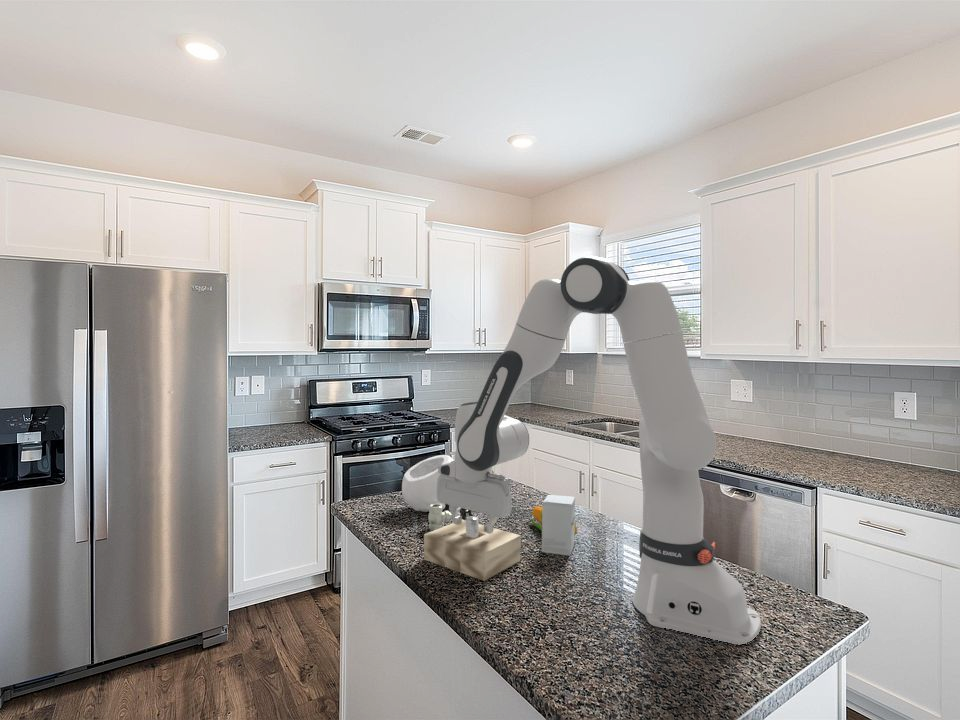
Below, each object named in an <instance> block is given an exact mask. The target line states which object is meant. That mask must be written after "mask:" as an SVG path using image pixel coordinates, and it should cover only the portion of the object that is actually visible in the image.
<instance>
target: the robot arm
mask: <svg viewBox="0 0 960 720" xmlns="http://www.w3.org/2000/svg"><path fill="white" fill-rule="evenodd" d="M581 313H587V314H592V315H601V314H604V315H605V314H606V315H612V316H613V317H614V318H615V319H616V321H617V324H618V326H619V328H620V329H619V330H620V333H621V337H622V343H623V348H624V352H625V356H626V361H627V366H628V370H629V375H630V379H631V384H632V386H633V390H634V391H635V394H636V397H637V401H638V404H639V407H640V411H641V414H642V416H641V418H640V420H639V424H638V436H639V438H638V443H639V458H640V472H641V482H642V483H641V484H642V526H641V527H642V529H640V531H639V540H638V541H639V543H638V544H639V545H638V551H639V558H640V565H639V571H638V578H637V583H636V587H635V590H634V593H633V597H632V603H633V605H634V607H635V608H636V610H638V611H639V612H640V613H641V614H642V615H644V617H645V619H646V620H647V621H646V622H648V623H649V624H650V625H651V626H653V627H656V628H661V629H664V628H666V630H669V629H673V630H678V631H681V632H686V633H690V634H694V635H697V636H696V637H698V636H701V637H700V638H702V637H706V638H710V639H713V640H712V641H715V640H718V641H717V642H719V641H724V642H728V643H732V644H738V645H740V644H744V643H747V642H750V641H752V640H753V639H754V638H755V637H756V636H757V635H758V636H759V634H760V633H761V632H760V631H761V630H760V629H762V624H761V617H760V615H759V614H758V612H757V611H756V610H754V609H752V608H749V607H748V603H747V602H748V601H747V597H746V596H747V595H746V593H745V589H744V588H743V586H742V584H741V583H740V582H739V581H738V580H737V579H736V578H734V577H733V576H732V575H731V574H730V573H729V572H728V571H727V570H726V569H724V568H723V567H722V566H721V565H720V564H719V563H718V562H717V561H716V560H714V558H715V550H716V542H715V541H713V542H712V543H710V542H709V541H708V540H707V539H706V538H705V537H704V506H705V505H704V504H705V503H704V500H705V499H704V494H703V491H702V486H701V481H700V474H699V471H700V470H701V469H703V468H705V467H706V466H708V465H709V464H710V463H711V462H712V460H713V459H714V457H715V455H716V452H717V448H718V446H717V444H718V443H717V436H716V434H715V433H714V430H713V428H712V426H711V423H710V420H709V417H708V415H707V411H706V408H705V405H704V402H703V399H702V397H701V395H700V392H699V389H698V387H697V384H696V381H695V378H694V376H693V372H692V369H691V365H690V361H689V360H690V359H689V357H688V352H687V348H686V347H687V346H686V343H685V340H684V339H685V338H684V334H683V331H682V325H681V321H680V319H679V318H680V317H679V315H678V312H677V308H676V306H675V303H674V300H673V299H672V296H671V294H670V292H669V290H668V288H667V286H666V285H665V284H663V283H662V282H660V281H659V280H658V281H657V280H652V279H645V280H639V281H631V280H630V277H629V275H628V274H627V272H626V271H625V270H624V268H622V267H621V266H619V265H618V264H616V263H615V262H614V261H612V260H611V259H608V258H604V257H598V256H594V255H587V256H583V257H579V258H577V259H575V260H573V261H572V262H570V264H569V265H568V266H567V267H566V268H565V269H564V271H563V273H562V275H561V278H560V280H559V279H555V278H544V279H541V280H538V281H537V282H535V283H534V284H533V286H532V287H531V289H530V291H529V293H528V294H527V296H526V298H525V301H524V302H523V305H522V307H521V309H520V312H519V313H518V317H517V320H516V323H515V325H514V329H513V332H512V334H511V336H510V338H509V340H508V342H507V344H506V347H505V348H504V349H503V351H502V353H501V354H500V356H498V359H497V360H496V361H495V363H494V365H493V368H492V369H491V371H490V373H489V376H488V377H487V380H486V382H485V385H484V387H483V390H482V392H481V394H480V396H479V397H478V401H471V402H465V403H462V404H460V405H459V406H458V408H457V411H456V414H455V420H454V421H455V422H454V441H455V445H456V447H455V448H456V449H455V453H454V461H452V462H450V463H446V464H443V465H440V466H438V473H439V474H440V475H439V477H438V479H437V499H438V501H439V502H440V503H444V504H445V505H448V511H449V512H450V513H451V514H452V517H453V518H452V523H453V524H456V525H459V524H461V523H462V516H460V515H459V512H460V511H459V510H458V509H457V508H463V509H467V510H471V512H476V513H480V514H483V515H487V520H489V521H488V522H487V523H486V524H483V525H484V532H485V533H488V534H491V533H493V528H494V525H495V523H496V521H497V520H498V519H499V518H500V519H502V518H506V517H507V516H509V515H510V514H511V512H512V509H513V508H512V496H511V483H510V480H508V479H507V478H506V477H505V475H503V474H496V473H494V474H493V473H492V470H493V467H494V466H496V465H500V464H503V463H504V464H505V463H507V462H509V461H513V460H516V459H518V458H520V457H522V456H523V455H524V454H526V453H527V451H528V449H529V445H530V435H529V431H528V428H527V426H526V425H525V424H524V423H523V421H521V420H520V419H518V418H514V417H511V416H509V415H506V414H507V410H508V409H509V406H510V404H511V401H512V399H513V397H514V396H515V394H516V392H517V391H518V390H519V389H520V388H521V386H523V385H524V384H525V383H527V382H529V381H530V380H531V379H533V378H535V377H537V376H539V375H540V374H542V373H544V372H546V371H548V370H550V368H552V367H553V366H554V365H555V363H556V362H557V360H558V359H559V356H560V354H561V352H562V351H563V348H564V344H565V342H566V340H567V336H568V334H569V331H570V327H571V325H572V323H573V321H574V320H575V318H576V317H577V316H578V315H580V314H581ZM673 630H672V631H673ZM681 632H680V633H681ZM759 632H760V633H759ZM690 634H689V635H690ZM694 635H693V636H694ZM758 636H757V637H758ZM757 637H756V638H757ZM706 638H705V639H706ZM710 639H709V640H710ZM753 641H754V640H753ZM753 641H752V642H753ZM750 643H751V642H750Z"/></svg>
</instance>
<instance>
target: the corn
mask: <svg viewBox="0 0 960 720" xmlns="http://www.w3.org/2000/svg"><path fill="white" fill-rule="evenodd" d="M531 514H532V516H533V517H534V519H535V521H537V522H538V523H539V524H538V523H537V522H534V521H533V520H531V519H530V522H531V523H532V524H533V525H534V527H536V528H538V529H539V530H540V531H541V532H542V506H540V505H539V506H538V505H536V506H534V507H533V508H532V511H531ZM577 534H578V527H577V524H576V523H575V533H574V537H576V535H577Z"/></svg>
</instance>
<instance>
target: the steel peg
mask: <svg viewBox="0 0 960 720" xmlns="http://www.w3.org/2000/svg"><path fill="white" fill-rule="evenodd" d="M479 524H480V523H479V517H478V516H474V515H473V516H468V517H466V538H470V539H473V540H475V539H477V538H479Z"/></svg>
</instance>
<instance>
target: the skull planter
mask: <svg viewBox="0 0 960 720" xmlns="http://www.w3.org/2000/svg"><path fill="white" fill-rule="evenodd" d="M452 461H455V459H454V458H453V457H451V456H450V455H448V454H441V455H440V454H439V455H434V456H432V457H428V458H426V459H423V460H421V461H419V462H417V463H416V464H415V465H413V466H411V467H409V468H408V469H407V470H406V472H405V473H404V475H403V477H402V483H401V493H402V497H403V499H404V501H405V502H406V503H407V505H408V506H409V507H410V508H412V509H413V510H414V511H415V512H416V511H418V512H423V513H426V512H429V506H430V505H431V504H441V505H442V511H443V510H444V509H445V508H446V504H444V503H440V502H439V501H438V499H437V479H438V477H439V475H440V474H439V473H438V466H440V465H443V464H446V463H450V462H452ZM457 509H458V511H460V509H461V508H457ZM429 513H430V512H429Z"/></svg>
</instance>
